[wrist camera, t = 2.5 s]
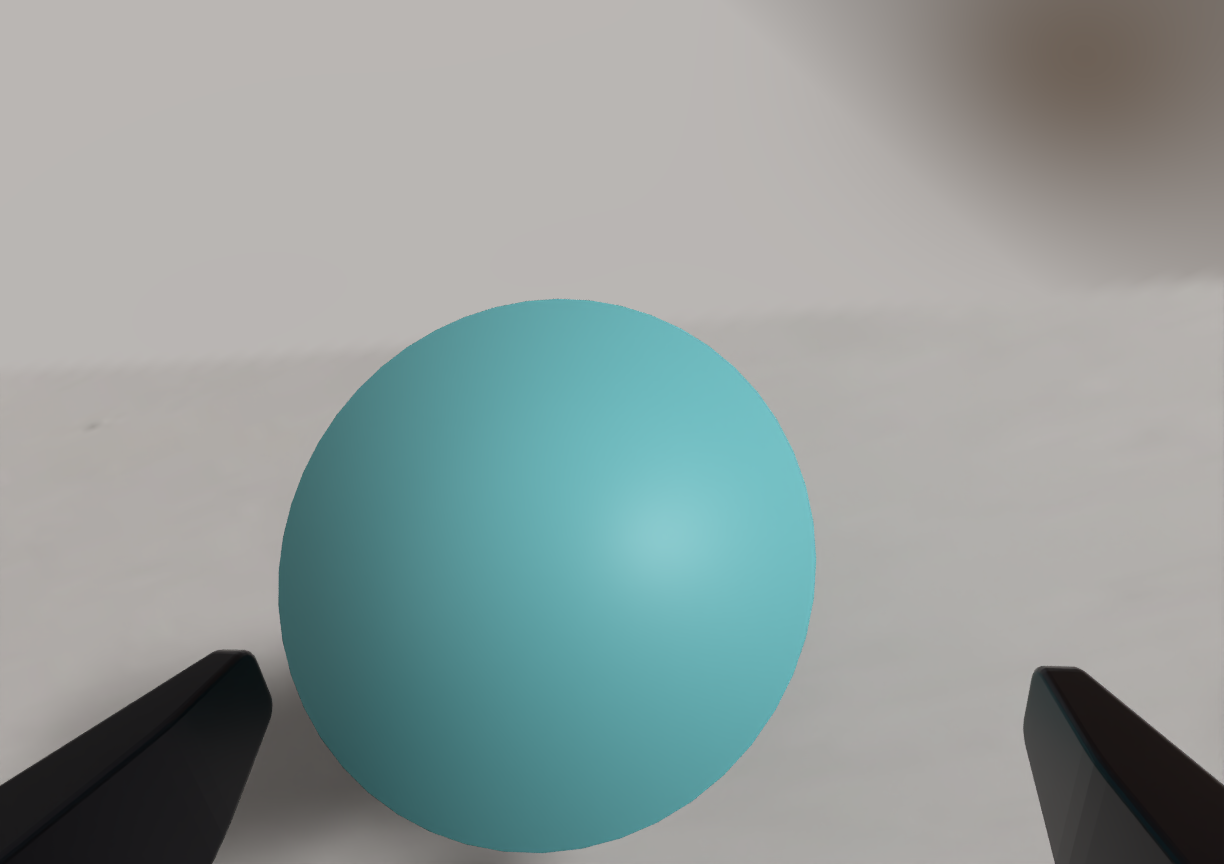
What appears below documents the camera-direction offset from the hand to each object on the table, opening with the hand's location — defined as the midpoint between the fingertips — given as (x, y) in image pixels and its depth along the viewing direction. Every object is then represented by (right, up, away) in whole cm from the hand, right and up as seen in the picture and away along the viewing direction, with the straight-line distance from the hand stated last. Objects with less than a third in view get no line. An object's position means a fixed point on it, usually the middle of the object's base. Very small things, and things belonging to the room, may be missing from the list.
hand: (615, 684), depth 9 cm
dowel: (+1, -2, +8) cm, 9 cm away
